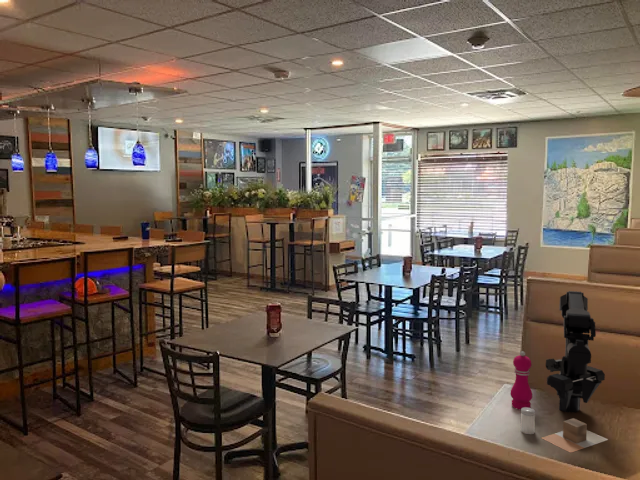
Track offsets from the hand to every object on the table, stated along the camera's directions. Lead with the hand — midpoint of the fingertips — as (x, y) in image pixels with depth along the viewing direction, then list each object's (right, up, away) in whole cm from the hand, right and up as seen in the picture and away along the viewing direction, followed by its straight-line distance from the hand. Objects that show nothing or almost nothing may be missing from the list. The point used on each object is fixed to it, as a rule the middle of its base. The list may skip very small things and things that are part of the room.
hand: (575, 405), depth 149 cm
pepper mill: (-5, -10, +27) cm, 29 cm away
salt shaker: (-12, -11, +6) cm, 17 cm away
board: (0, -12, +1) cm, 12 cm away
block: (0, -10, +1) cm, 10 cm away
